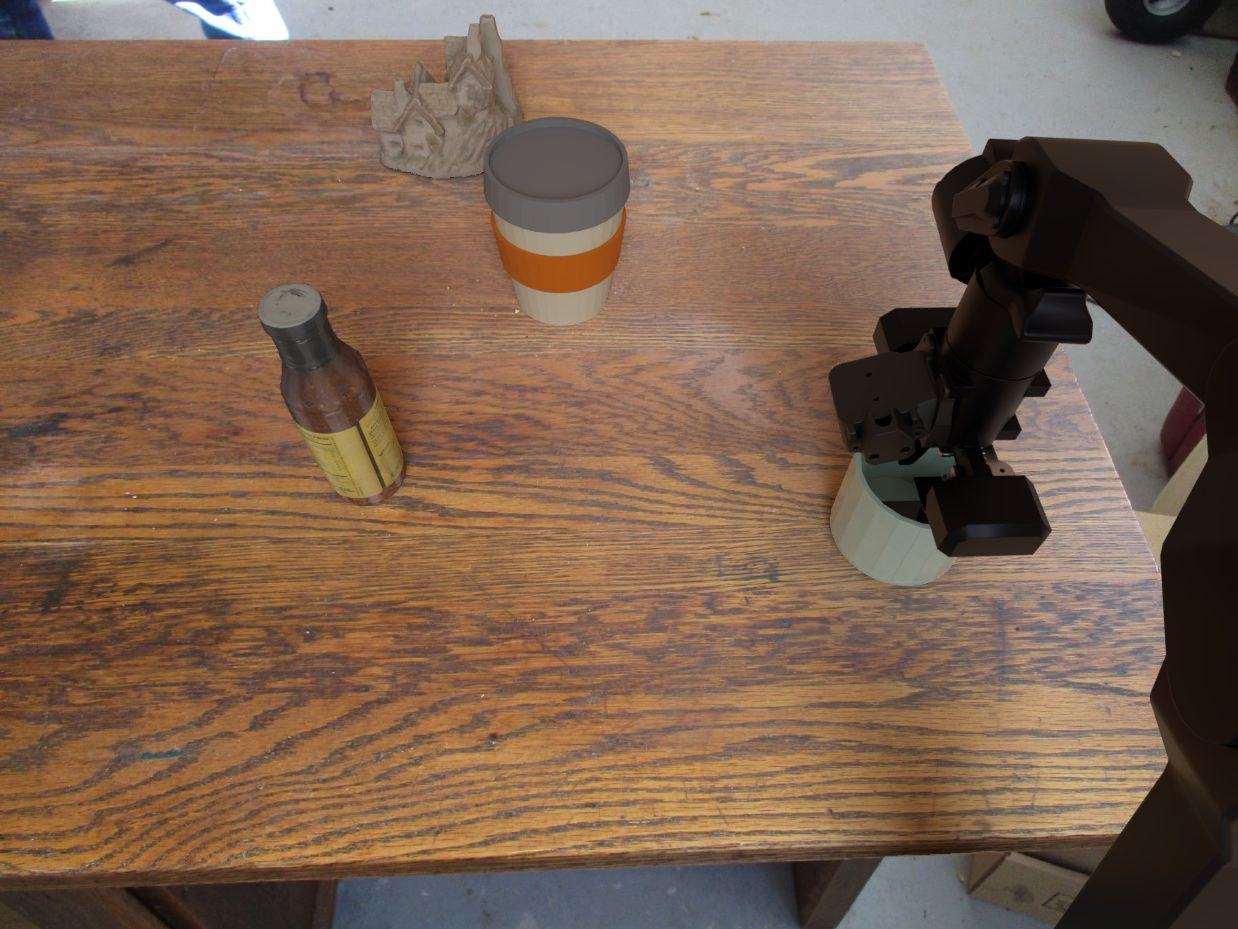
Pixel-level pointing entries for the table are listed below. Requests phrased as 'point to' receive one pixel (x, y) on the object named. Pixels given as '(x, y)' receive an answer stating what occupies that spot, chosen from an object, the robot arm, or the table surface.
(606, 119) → the table surface
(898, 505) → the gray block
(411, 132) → the ceramic cottage
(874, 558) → the cup
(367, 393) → the sauce bottle
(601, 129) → the reusable coffee cup
